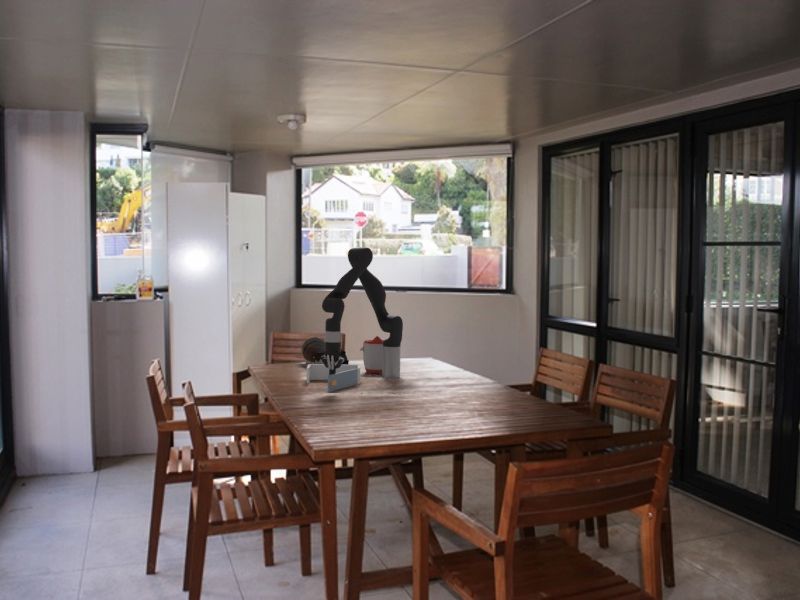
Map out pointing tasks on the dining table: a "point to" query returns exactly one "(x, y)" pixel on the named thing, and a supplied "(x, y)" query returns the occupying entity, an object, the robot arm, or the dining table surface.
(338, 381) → the door
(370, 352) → the citrus juicer
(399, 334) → the robot arm
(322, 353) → the clay pot
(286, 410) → the dining table surface
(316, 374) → the case
